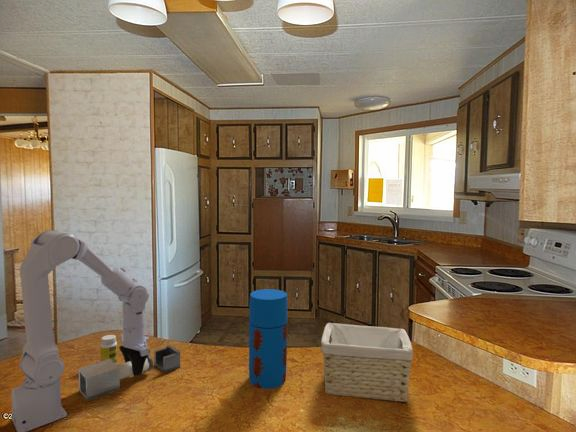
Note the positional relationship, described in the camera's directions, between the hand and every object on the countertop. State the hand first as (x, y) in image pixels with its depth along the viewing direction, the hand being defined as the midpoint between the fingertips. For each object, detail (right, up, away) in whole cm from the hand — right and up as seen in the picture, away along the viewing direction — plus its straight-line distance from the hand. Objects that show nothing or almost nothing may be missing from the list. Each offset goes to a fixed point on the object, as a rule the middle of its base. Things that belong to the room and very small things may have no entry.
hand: (134, 372), depth 106 cm
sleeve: (-7, -2, -7) cm, 10 cm away
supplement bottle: (-11, -1, +8) cm, 14 cm away
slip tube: (-3, -1, -2) cm, 4 cm away
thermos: (+38, -3, +1) cm, 38 cm away
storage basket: (+66, -3, -2) cm, 66 cm away
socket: (+7, -1, +7) cm, 10 cm away
